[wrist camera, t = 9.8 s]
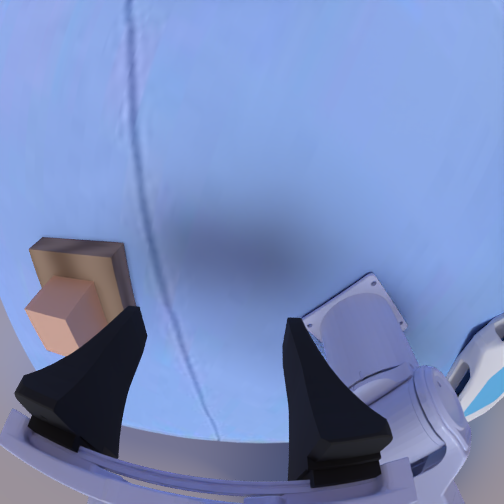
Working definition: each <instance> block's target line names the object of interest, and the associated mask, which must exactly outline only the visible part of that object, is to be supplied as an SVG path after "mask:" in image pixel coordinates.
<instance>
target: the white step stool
mask: <svg viewBox="0 0 504 504" xmlns="http://www.w3.org/2000/svg"><path fill="white" fill-rule="evenodd" d="M502 338H504V313H503V314H501V315H498V316H496V317H494V318H493V319H492V320H491V321H490V322H489V323H488V324H487V325H486V326H485V327H484V328H482V329H481V330H480V331H479V332H478V333H477V334H475V335H474V337H473V338H472V339H471V341H470V342H469V343H468V345H467V346H466V347H465V348H464V350H463V351H462V352H461V353H460V354H459V356H458V357H457V358H456V359H455V361H454V363H453V365H452V367H451V369H450V371H449V373H448V374H447V376H446V378H447V380H448V381H449V383H450V384H451V386H452V387H453V389H454V391H455V390H456V388H457V387H458V385H459V384H460V382H461V381H462V379H463V377H464V376H465V374H466V373H467V371H468V370H469V368H470V377H471V378H470V379H469V381H468V383H467V384H466V386H465V387H464V389H463V391H462V392H461V393H460V394H457V397H458V399H459V401H460V403H461V406H462V409H463V412H464V416H465V418H466V420H467V422H469V421H471V420H473V419H475V418H477V417H478V416H480V415H482V414H484V413H485V412H487V411H488V410H489V409H490V408H491V407H493V406H494V405H495V404H496V403H497V402H498V401H499V400H500V399H502V398H503V397H504V341H502V340H501V339H502Z"/></svg>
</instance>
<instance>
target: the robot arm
mask: <svg viewBox="0 0 504 504" xmlns="http://www.w3.org/2000/svg"><path fill="white" fill-rule="evenodd" d="M373 281H375V282H374V283H372V282H373ZM371 283H372V284H371ZM308 324H310V325H308ZM407 326H408V325H407V323H406V322H405V320H404V318H403V317H402V315H401V314H400V312H399V310H398V309H397V307H396V306H395V304H394V303H393V301H392V300H391V298H390V296H389V295H388V293H387V292H386V290H385V289H384V287H383V286H382V284H381V283H380V282H379V280H378V279H377V277H376V276H375V274H373V273H370V274H368V275H366V276H365V277H363V278H362V279H361V280H359V281H358V282H356V283H355V284H353V285H352V286H351V287H349V288H348V289H346V290H345V291H343V292H342V293H340V294H339V295H337V296H336V297H334V298H333V299H331V300H330V301H328V302H327V303H325V304H324V305H322V306H321V307H319V308H318V309H316V310H314V311H313V312H311V313H310V314H308V315H307V316H305V317H303V318H302V319H301V318H288V319H287V324H286V330H285V335H284V341H283V346H282V347H283V369H284V377H285V384H286V391H287V398H288V407H289V467H288V481H274V482H273V481H272V482H271V481H270V482H259V481H257V482H256V481H233V480H220V479H210V478H202V477H194V476H188V475H181V474H176V473H171V472H165V471H161V470H156V469H152V468H148V467H144V466H140V465H136V464H132V463H129V462H125V461H122V460H119V459H118V453H119V439H120V431H121V423H122V418H123V412H124V407H125V403H126V398H127V394H128V391H129V388H130V385H131V382H132V380H133V377H134V375H135V372H136V369H137V367H138V364H139V362H140V359H141V357H142V354H143V351H144V347H145V343H146V339H147V333H146V329H145V326H144V322H143V319H142V315H141V311H140V307H137V306H127V307H126V308H125V309H124V310H123V311H122V312H121V313H120V314H119V315H117V316H116V317H115V318H114V319H113V320H112V321H111V322H110V323H109V324H108V325H107V326H105V327H104V328H103V329H102V330H101V331H100V332H99V333H97V334H96V335H95V336H94V337H93V338H91V339H90V340H89V341H88V342H87V343H85V344H84V345H83V346H81V347H80V348H78V349H77V350H76V351H74V352H73V353H71V354H69V355H68V356H66V357H64V358H63V359H61V360H59V361H58V362H56V363H54V364H52V365H50V366H47V367H45V368H43V369H41V370H38V371H35V372H33V373H30V374H27V375H24V376H23V378H22V380H21V382H20V383H19V385H18V387H17V389H16V391H15V397H16V398H17V400H18V401H19V402H20V403H21V404H22V405H23V406H24V407H25V408H26V409H27V411H29V413H31V414H32V417H31V419H30V418H28V417H27V416H25V415H24V414H22V413H20V412H18V411H17V410H15V409H12V410H11V412H10V414H9V416H8V418H7V421H6V423H5V425H4V427H3V429H2V432H1V434H0V445H1V446H2V447H4V448H5V449H6V450H8V451H9V452H10V453H12V454H13V455H15V456H16V457H18V458H19V459H20V460H22V461H23V462H25V463H27V464H28V465H30V466H31V467H33V468H35V469H36V470H38V471H40V472H41V473H43V474H45V475H46V476H48V477H50V478H52V479H54V480H55V481H57V482H60V483H61V484H63V485H65V486H67V487H69V488H71V489H74V490H75V491H78V492H80V493H82V494H84V495H87V496H89V497H88V502H87V504H465V502H464V500H463V498H462V496H461V494H460V492H459V490H458V488H457V486H456V484H455V482H454V480H453V479H454V478H455V476H456V475H457V473H458V472H459V470H460V468H461V467H462V466H463V464H464V463H465V461H466V459H467V457H468V455H469V452H470V448H471V429H470V426H469V424H468V422H467V420H466V418H465V416H464V412H463V409H462V406H461V403H460V401H459V399H458V397H457V395H456V393H455V391H454V389H453V387H452V386H451V384H450V383H449V381H448V380H447V378H446V377H445V376H444V375H443V374H442V373H441V372H440V371H439V370H438V369H437V368H435V367H429V366H427V365H423V366H421V367H419V364H418V362H417V360H416V358H415V356H414V353H413V351H412V349H411V347H410V345H409V343H408V341H407V339H406V337H405V335H404V332H403V331H404V330H405V329H406V328H407ZM307 330H308V331H309V332H311V333H312V334H313V335H314V336H315V337H316V338H317V339H319V340H320V341H321V342H322V343H323V346H324V350H325V355H326V360H327V362H326V360H325V359H324V357H323V356H322V354H321V353H320V351H319V350H318V348H317V346H316V345H315V343H314V341H313V340H312V338H311V336H310V334H309V332H308V331H307ZM104 469H105V470H104ZM109 471H110V472H109ZM111 472H113V473H111ZM114 473H116V474H120V475H123V476H126V477H129V478H133V479H136V480H140V481H144V482H148V483H152V484H156V485H161V486H165V487H170V488H175V489H181V490H187V491H193V492H201V493H208V494H218V495H230V496H250V497H246V498H244V503H234V502H224V501H216V500H209V499H202V498H196V497H191V496H185V495H180V494H174V493H170V492H165V491H160V490H156V489H151V488H147V487H143V486H139V485H135V484H132V483H130V482H128V481H126V480H124V479H123V478H122V477H121V476H118V475H116V474H114Z"/></svg>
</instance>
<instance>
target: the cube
mask: <svg viewBox="0 0 504 504" xmlns="http://www.w3.org/2000/svg"><path fill="white" fill-rule="evenodd" d="M25 311H26V313H27V315H28V317H29V319H30V321H31V323H32V325H33V327H34V328H35V330H36V332H37V334H38V336H39V338H40V339H41V341H42V343H43V345H44V346H45V348H46V350H48V351H51V352H54V353H57V354H60V355H63V356H68V355H69V354H71V353H73V352H74V351H76V350H77V349H78V348H80V347H81V346H83V345H84V344H85V343H87V342H88V341H89V340H90V339H91V338H93V337H94V336H95V335H96V334H97V333H99V332H100V331H101V330H102V329H103V328H104V327H105V326H107V324H108V323H107V321H106V318H105V315H104V312H103V309H102V306H101V304H100V301H99V297H98V294H97V291H96V288H95V285H94V281H87V280H80V279H73V278H66V277H59V276H53V277H52V278H51V279H50V280H49V281H48V282H47V283H46V284H45V285H44V286H43V288H42V289H41V290H40V291H39V292H38V293H37V295H36V296H35V297H34V298H33V299H32V300H31V302H30V303H29V304H28V305H27V306H26V308H25Z"/></svg>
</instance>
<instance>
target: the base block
mask: <svg viewBox="0 0 504 504" xmlns="http://www.w3.org/2000/svg"><path fill="white" fill-rule="evenodd" d="M29 252H30V255H31V258H32V261H33V264H34V267H35V270H36V273H37V276H38V279H39V281H40V284H41V287H42V288H43V286H44V285H45V284H46V283H47V282H48V281H49V280H50V279H51V278H52V277H53V276H59V277H66V278H73V279H80V280H87V281H94V285H95V288H96V291H97V294H98V297H99V301H100V304H101V306H102V309H103V312H104V315H105V318H106V321H107V323H108V324H109V323H110V322H111V321H112V320H113V319H114V318H115V317H116V316H117V315H119V314H120V313H121V312H122V311H123V310H124V309H125V308H126V307H127V306H136V303H135V299H134V295H133V290H132V286H131V281H130V276H129V271H128V266H127V261H126V255H125V249H124V243H119V242H104V241H90V240H76V239H61V238H47V237H42V238H41V239H40V240H39V241H38V242H36V243H35V244H34V245H33V246H32V247H31V248H29ZM108 324H107V325H108Z"/></svg>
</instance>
